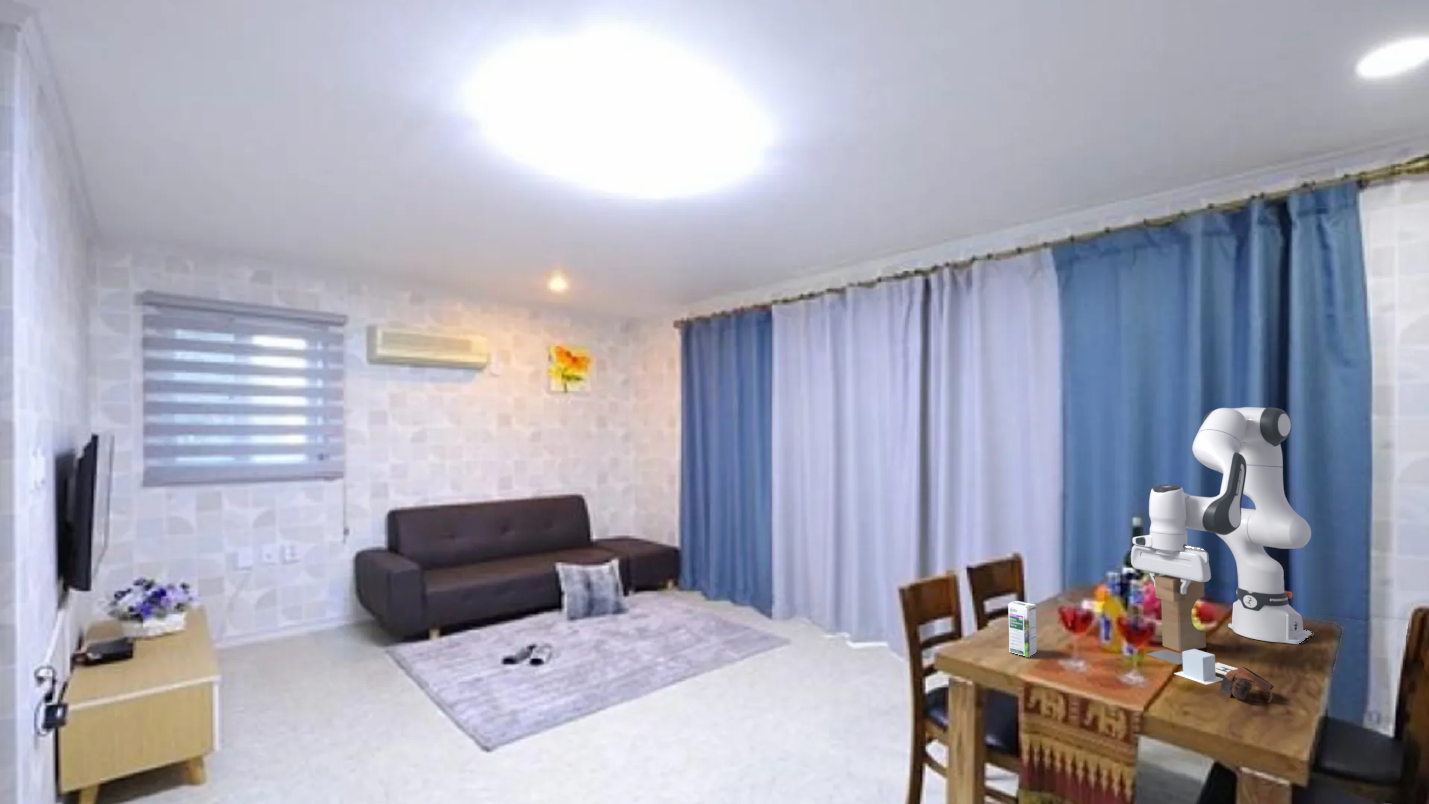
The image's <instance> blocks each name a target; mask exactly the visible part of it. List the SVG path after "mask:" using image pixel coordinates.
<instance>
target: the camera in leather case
mask: <svg viewBox="0 0 1429 804" xmlns="http://www.w3.org/2000/svg"><path fill="white" fill-rule="evenodd" d="M1237 668H1238V669H1235V670H1231V671H1229V672H1228V673H1227V674H1226V675H1223V680H1222V681H1221V683H1220V687H1219V692H1220V694H1222V695H1223V696H1225V697H1226V698H1232V696H1233V697H1234V698H1235V699H1236V700H1241V701H1245V700H1246V698H1247V695H1248V694H1249V693H1250V691H1251V690H1252V687H1253V686H1256V687H1258V688H1260V689H1261V690H1263V691H1264V692H1266V693H1267V694H1268V697H1267V700H1266V702H1267V703H1268V704H1270V703H1271V702H1272V699H1273V692H1272V689H1273V688H1274V687H1275V686H1274V685H1273V684H1271V682H1269V681H1267V680H1266V679H1265V678H1263V677H1261V676H1260V675H1259V674H1257V673H1255V672H1254V671H1252V670H1250V669H1248V668H1247V667H1245V666H1243V665H1239V666H1238V667H1237Z"/></svg>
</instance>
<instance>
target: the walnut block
mask: <svg viewBox="0 0 1429 804" xmlns="http://www.w3.org/2000/svg"><path fill="white" fill-rule="evenodd" d="M1182 583H1183V582H1181V578H1178V577H1174V576H1169V575H1164V574H1161V575H1158V576H1156V577H1155V587H1154V589H1155V598H1156V599H1160V600H1161V599H1163V600H1167V601H1171V602H1177V601H1182V600H1185V594H1179V593H1177V591H1178V590H1177V587H1180V586H1181V585H1182Z"/></svg>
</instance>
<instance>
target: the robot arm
mask: <svg viewBox="0 0 1429 804" xmlns="http://www.w3.org/2000/svg"><path fill="white" fill-rule="evenodd" d="M1198 429H1199V430H1198V432H1197V433H1196V435H1195V438H1194V440H1193V442H1192V448H1191V451H1192V453H1193V455H1194V458H1196V460H1197V461H1198V462H1199V463H1201V464H1202V465H1203V466H1205V467H1207V468H1209V469H1210V470H1213V471H1216V472H1219V473H1221V474H1223V475H1222V480H1221V486H1220V491H1219V494H1218V495H1216V496H1212V497H1209V496H1197V495H1190V494H1188V493H1186V492H1184V489H1183V487H1182V486H1180V485H1178V484H1172V483H1171V484H1160V485H1156V486H1154V487H1152V488H1151V490H1150V494H1149V500H1148V515H1149V519H1150V527H1149V534H1145V535H1140V536H1134V537H1132V544H1133V546H1132V547H1131V552H1130V562H1131V566H1132V568H1134V569H1136V570H1140V571H1145V572H1149V577H1150V578H1151V580H1152V582H1153V584H1154V585H1153V587H1154V588H1155V577H1156V576H1160V575H1169V576H1174V577H1178V578H1181V582H1183V583H1182V585H1181V586H1180V587H1177V590H1178V591H1177V593H1179V594H1186V593H1187V589H1186V588H1187V587H1188V585H1189V584H1190V582H1191V580H1193V581H1198V582H1204V583H1205V582H1206V583H1207V582H1209V580H1211V579H1212V576H1211V575H1212V573H1211V567H1210V563H1209V561H1210V558H1209V553H1208V551H1206V550H1205V549H1204V548H1203V547H1201V546H1193V545H1188V530H1187V529H1189V530H1195V531H1200V532H1201V531H1202V532H1209V533H1212V534H1215V535H1217V536H1218V537H1219V538H1220V539H1221V540H1222V541H1224V543H1225V544H1226V545H1227V547H1228V548H1229V550H1230V551H1231V553H1232V555H1233V557H1234V560H1235V564H1236V570H1237V571H1236V572H1237V585H1238V586H1237V587H1236V591H1235V593H1236V599H1237V600H1236V601H1234V602H1233V604H1232V619H1231V620H1232V621H1231V622H1230V623H1228V625H1227V627H1228V628H1230V629H1232V631H1233V632H1234V633H1235V634H1236V635H1240V636H1243V637H1246V638H1248V639H1254V640H1259V641H1264V642H1271V643H1282V644H1283V643H1285V644H1292V645H1300V644H1299V643H1301V642H1302V641H1304V640H1305V638H1308V636H1309V635H1311V634H1312V633H1311V632H1312V631H1310V630H1308V629H1305V628H1304V623H1303V622H1304V621H1303V617H1302V615H1301V614H1300V613H1299V612H1298V611H1297V610H1296V609H1294V607H1292V606H1291V605H1290V604H1289V603H1290V602H1289V599H1292V598H1293V592H1292V591H1287V590H1285V580H1284V576H1285V575H1284V573H1285V572H1284V569H1283V566H1282V564H1280V562H1278V561H1277V560H1275V558H1272V557H1271V556H1270V555H1269V554H1268V553H1267V552H1266V550H1265V549H1264V548H1265V547H1269V548H1276V549H1280V550H1281V549H1282V550H1283V549H1284V550H1285V549H1286V550H1287V549H1288V550H1290V549H1303V548H1304V547H1305V546H1306V545H1307V544H1308V543H1309V542H1310V541H1311V538H1312V529H1311V526H1310V524H1309V523H1308V521H1307V520H1306V519H1305V518H1304V517H1302V516H1300V514H1298V513H1297V511H1295V510H1294V509H1293V507H1292V506H1291V505H1290V503H1289V502H1288V499H1287V497H1286V494H1285V490H1284V488H1285V487H1284V474H1283V472H1284V471H1283V469H1284V468H1283V466H1284V465H1283V463H1284V462H1283V460H1284V459H1283V451H1282V446H1281V443H1282V442H1284V441H1285V440H1286V439H1287V438H1288V437H1289V435H1290V434H1291V431H1292V420H1291V418H1290V415H1289V414H1288V413H1287V412H1286V411H1285V410H1283V409H1281V408H1277V407H1258V406H1257V407H1255V406H1253V407H1251V406H1243V407H1234V408H1233V407H1231V408H1230V407H1229V408H1228V407H1221V408H1220V407H1219V408H1216V409H1213V410H1210V411H1208V412H1207V413H1206V415H1204V417H1203V419H1202V424H1201V426H1200V427H1199V428H1198ZM1244 495H1245V496H1246V497H1248V498H1249V499H1250V500H1251V501H1252V502H1253V504H1254V507H1255V508H1253V509H1252V508H1246V507H1245V508H1243V507H1242V503H1243V498H1244V497H1243V496H1244ZM1303 629H1305V630H1303ZM1306 630H1307V631H1306ZM1304 642H1305V641H1304ZM1302 643H1303V642H1302ZM1302 643H1301V644H1302Z"/></svg>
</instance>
